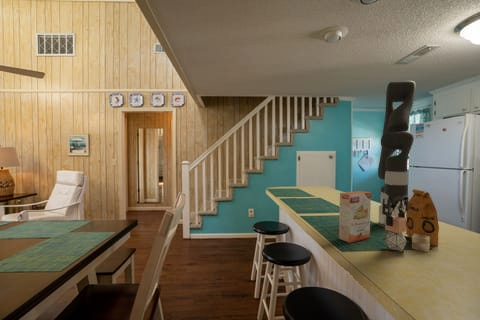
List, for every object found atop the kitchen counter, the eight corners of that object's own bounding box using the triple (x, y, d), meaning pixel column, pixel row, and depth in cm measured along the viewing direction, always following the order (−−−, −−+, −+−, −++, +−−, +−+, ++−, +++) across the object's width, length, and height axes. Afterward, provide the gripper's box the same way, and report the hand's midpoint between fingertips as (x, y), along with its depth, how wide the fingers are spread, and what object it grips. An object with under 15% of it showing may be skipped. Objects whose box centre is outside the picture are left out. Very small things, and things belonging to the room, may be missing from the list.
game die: (388, 258, 95) (373, 234, 99) (407, 250, 95) (391, 226, 100) (399, 256, 87) (382, 230, 92) (420, 247, 87) (401, 221, 92)
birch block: (411, 248, 95) (412, 236, 95) (414, 245, 99) (414, 233, 99) (427, 252, 92) (427, 239, 92) (429, 248, 95) (429, 236, 95)
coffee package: (414, 244, 99) (415, 192, 99) (402, 235, 111) (403, 188, 111) (443, 247, 97) (444, 193, 96) (427, 237, 108) (428, 189, 108)
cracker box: (350, 243, 101) (350, 194, 100) (338, 239, 106) (338, 192, 105) (371, 238, 107) (371, 192, 106) (359, 234, 112) (359, 190, 112)
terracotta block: (385, 229, 94) (385, 217, 94) (392, 227, 97) (392, 215, 97) (398, 233, 90) (399, 220, 90) (405, 231, 92) (405, 218, 92)
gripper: (395, 180, 100) (395, 219, 100) (375, 183, 93) (375, 224, 93) (416, 182, 93) (415, 223, 93) (396, 185, 86) (395, 229, 86)
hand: (395, 224), depth 93 cm, fingers open, 8 cm apart
